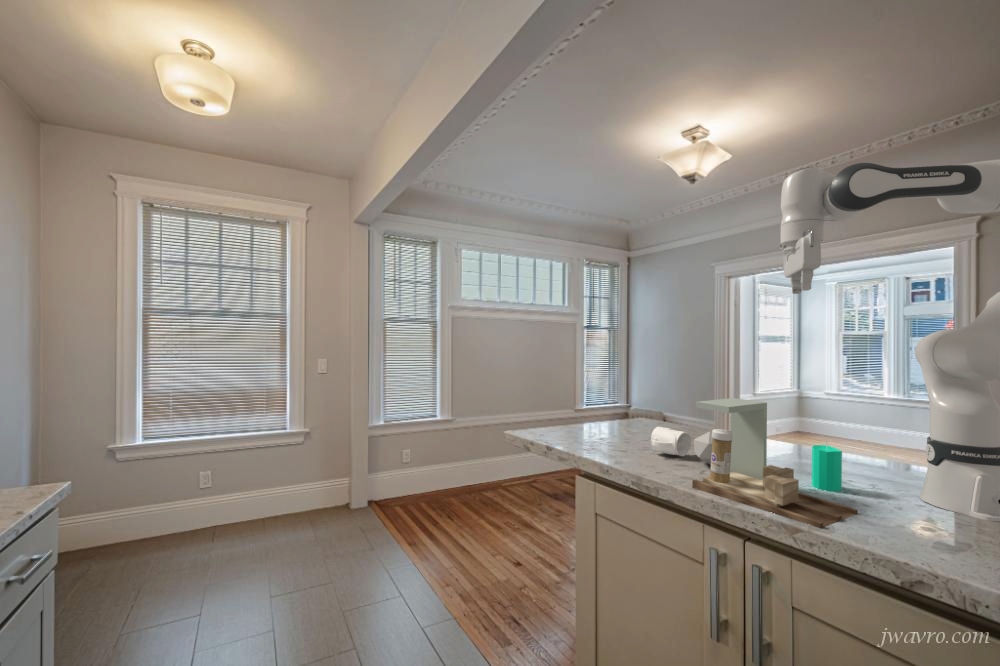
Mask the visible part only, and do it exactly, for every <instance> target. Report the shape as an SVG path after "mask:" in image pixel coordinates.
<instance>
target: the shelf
mask: <svg viewBox="0 0 1000 666" xmlns="http://www.w3.org/2000/svg"><path fill="white" fill-rule="evenodd" d="M695 408H696V409H702V410H707V411H712V412H713V411H714V412H719V413H723V414H724V413H725V414H730V415H729V416H730V425H729V427H730V428H729V429H730V431H731V432H732V433H733V439H732V443H731V468H730V472H736V473H739V474H743V475H746V476H750V477H753V478H756V479H760V480H763V466H767V459H768V458H767V448H768V447H767V443H768V442H767V441H768V440H767V439H768V437H767V434H768V431H767V429H768V402H765V401H758V400H757V401H756V400H752V399H744V398H743V399H742V398H737V397H731V398H719V399H718V398H717V399H710V400H708V399H707V400H701V401H695Z"/></svg>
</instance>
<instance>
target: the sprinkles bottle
mask: <svg viewBox="0 0 1000 666" xmlns="http://www.w3.org/2000/svg"><path fill="white" fill-rule="evenodd" d="M711 432H712V439H713V440H712V441H713V442H712V456H711V465H710V475H709V477H710V480H712V481H714V482H718V483H729V481H730V468H731V443H732V439H733V433H732V432H731V431H729V430H727V429H723V428H722V429H721V428H720V429H719V428H714V429H712V430H711Z"/></svg>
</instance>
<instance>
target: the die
mask: <svg viewBox="0 0 1000 666" xmlns="http://www.w3.org/2000/svg"><path fill="white" fill-rule="evenodd" d="M712 440H713V439H712V431H708V432H706V433H704V434H702V435H699V436H698V437H696V438H694V439H693V448H694V449H693V450H694V454H695V455H696V456H697V457H698V458H699V459H700V460H702V461H703V462H704V463H706V464H708V465H709V466H711V456H712V442H713V441H712Z"/></svg>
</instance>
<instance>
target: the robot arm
mask: <svg viewBox="0 0 1000 666" xmlns="http://www.w3.org/2000/svg"><path fill="white" fill-rule="evenodd" d="M780 194H781V195H780V211H781V214H782V215H781V216H782V218H781V222H780V241H779V249H780V250H782V266H783V273H784V277H785V278H786V279H787V278H788V279H790V280H789V281H790V286H791V293H792V294H793V295H798V294H801V293H802V291H803V292H804V291H810V290H811V289H812V281H813V277H814V271H815V270H816V269H819V268H820V267H821V264H822V251H821V250H822V249H821V248H822V247H821V243H822V242H824V241H825V240H824V238H825V237H824V236H825V235H824V234H825V233H824V232H825V231H824V227H825V226H824V222H825V221H826V222H846V221H850V220H852V219H855V218H857V216H859V215H861V214H863V213H864V212H865V211H866V210H868V209H869V208H872V207H874V206H876V205H878V204H880V203H883V202H886V201H889V200H905V199H906V200H907V199H908V200H909V199H924V198H925V199H926V198H930V199H931V198H932V199H936V200H937V203H938V204H939V206H940V207H941V208H942V209H943V210H944V211H946V212H948V213H952V214H953V213H954V214H964V215H965V214H967V215H968V214H969V215H970V214H989V213H999V212H1000V159H991V160H981V161H973V162H967V163H962V164H953V165H951V164H949V165H931V166H914V167H913V166H912V167H911V166H910V167H892V166H891V167H890V166H884V165H880V164H876V163H871V162H859V163H854V164H851V165H849V166H847V167H845V168H843V169H841V171H839V172H838V173H836V174H833V173H829V172H827V171H825V170H823V169H822V168H821V167H819V166H808V167H803V168H801V169H798V170H796V171H794V172H792V173H790V174H789V175H788V176H787V177H786V178H785V179H784V180H783V182H782V187H781V192H780ZM914 355H915V359H916V360H917V362H918V364H919V365H920V368H921V371H922V377H923V380H924V385H925V388H926V392H927V397H928V398H927V399H928V403H929V404H928V405H929V436H928V437H927V438H926V439H927V440H926V447H925V449H926V450H925V453H926V454H925V455H926V461H927V462H928V464H927V469H926V475H925V480H924V482H923V483H924V484H923V486H922V490H921V492H920V494H919V499H920V500H922V501H923V502H925V503H928V504H929V505H932V506H935V507H937V508H941V509H943V510H947V511H951V512H954V513H958V514H963V515H966V516H969V517H972V518H976V519H979V520H983V521H990V522H1000V405H999V403H998V402H997V401H996V398H995V397H994V395H993V392H992V388H991V386H990V383H989V382H994V381H1000V291H998V292H997V293H995V294H994V295H993V296H991V297H990V298H989V299H988V300H987V302H986V304H985V307H984V308H983V310H982V311H981V312H980V313H979V314H978V315H977V316H976V318H975V319H973V320H972V321H971V323H969V324H967V325H965V326H963V327H962V328H957V329H956V328H955V329H954V328H953V329H952V328H951V329H949V328H948V329H941V330H938V331H937V330H936V331H934V332H932V333H930V334H927V335H925V336H923V338H921V339H920V340H918V342H917V344H916V345H915V349H914Z"/></svg>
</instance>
